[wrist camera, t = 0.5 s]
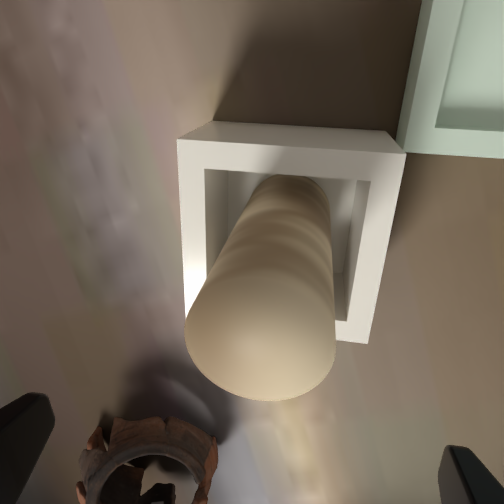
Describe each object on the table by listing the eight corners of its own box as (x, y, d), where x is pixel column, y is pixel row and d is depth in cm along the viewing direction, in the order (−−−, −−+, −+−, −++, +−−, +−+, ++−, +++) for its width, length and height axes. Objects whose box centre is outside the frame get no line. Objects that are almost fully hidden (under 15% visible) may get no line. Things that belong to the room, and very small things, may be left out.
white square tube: (385, 131, 18) (406, 154, 13) (358, 284, 21) (367, 343, 17) (211, 120, 19) (176, 139, 14) (213, 268, 22) (185, 320, 18)
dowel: (334, 175, 18) (346, 287, 9) (324, 253, 20) (326, 410, 11) (249, 169, 18) (180, 269, 10) (246, 246, 20) (187, 389, 11)
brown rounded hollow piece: (74, 394, 30) (45, 462, 22) (197, 360, 32) (211, 410, 24) (112, 531, 31) (98, 640, 23) (225, 490, 33) (248, 578, 26)
